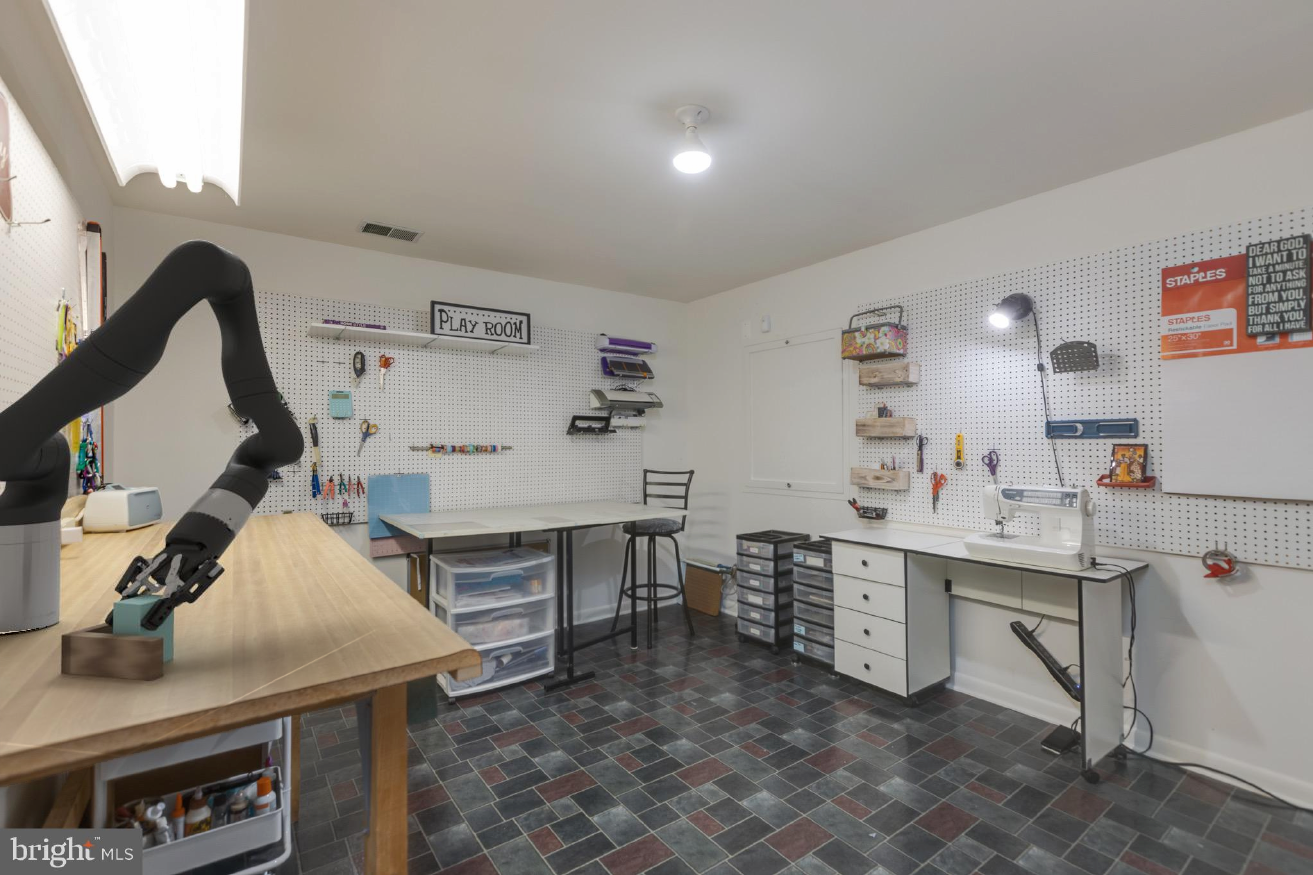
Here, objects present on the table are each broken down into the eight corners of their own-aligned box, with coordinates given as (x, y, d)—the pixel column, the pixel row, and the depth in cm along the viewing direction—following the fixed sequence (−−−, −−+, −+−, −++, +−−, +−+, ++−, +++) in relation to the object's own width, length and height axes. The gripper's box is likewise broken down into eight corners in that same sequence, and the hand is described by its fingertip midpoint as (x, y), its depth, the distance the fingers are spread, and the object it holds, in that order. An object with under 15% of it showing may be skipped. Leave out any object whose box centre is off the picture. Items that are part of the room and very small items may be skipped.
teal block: (112, 669, 79) (113, 602, 79) (147, 657, 83) (148, 594, 83) (139, 672, 78) (140, 604, 78) (173, 660, 83) (174, 596, 83)
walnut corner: (61, 672, 77) (61, 634, 77) (137, 647, 87) (138, 613, 87) (151, 680, 75) (151, 641, 75) (220, 653, 85) (220, 618, 85)
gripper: (154, 508, 89) (62, 610, 77) (237, 510, 87) (154, 615, 75) (187, 537, 95) (105, 636, 83) (265, 540, 92) (193, 643, 80)
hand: (129, 626), depth 79 cm, fingers open, 5 cm apart
